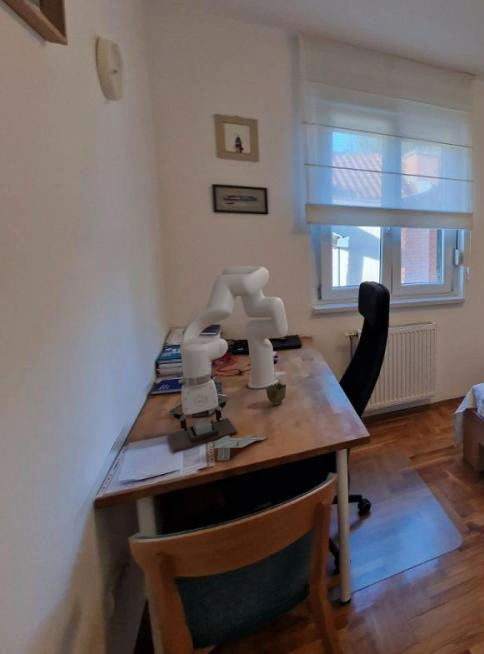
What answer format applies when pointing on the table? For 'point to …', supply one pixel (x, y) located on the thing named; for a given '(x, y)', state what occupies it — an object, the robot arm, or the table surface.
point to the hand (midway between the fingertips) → (201, 424)
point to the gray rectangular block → (202, 426)
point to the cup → (276, 393)
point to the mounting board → (190, 440)
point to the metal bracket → (231, 445)
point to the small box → (211, 411)
